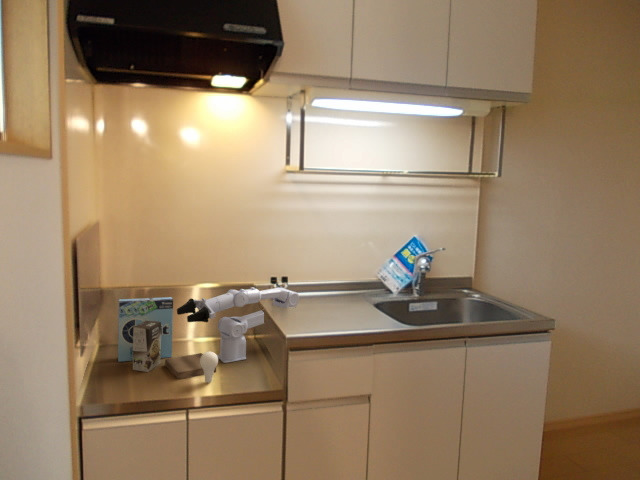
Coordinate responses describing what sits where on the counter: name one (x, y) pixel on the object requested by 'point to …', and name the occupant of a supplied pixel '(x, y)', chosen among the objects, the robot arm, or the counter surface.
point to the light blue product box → (137, 313)
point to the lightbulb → (208, 365)
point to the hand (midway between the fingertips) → (182, 315)
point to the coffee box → (146, 346)
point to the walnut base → (185, 366)
